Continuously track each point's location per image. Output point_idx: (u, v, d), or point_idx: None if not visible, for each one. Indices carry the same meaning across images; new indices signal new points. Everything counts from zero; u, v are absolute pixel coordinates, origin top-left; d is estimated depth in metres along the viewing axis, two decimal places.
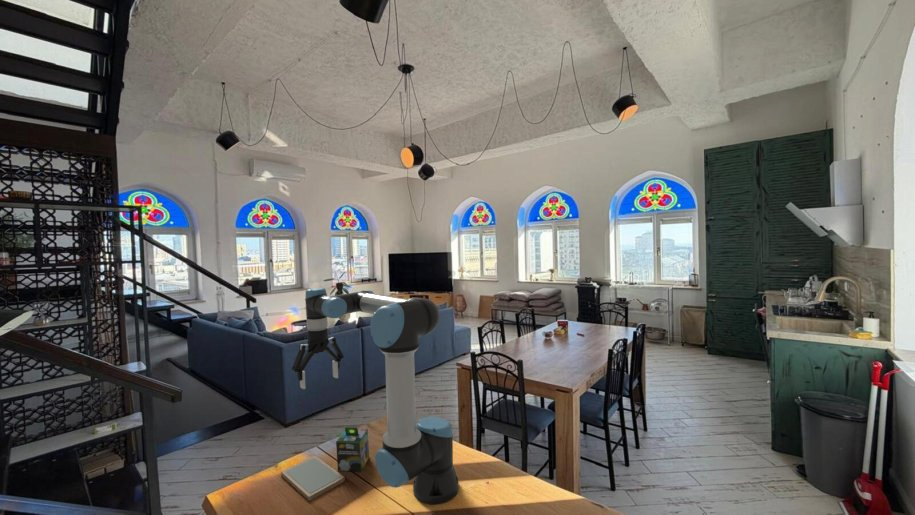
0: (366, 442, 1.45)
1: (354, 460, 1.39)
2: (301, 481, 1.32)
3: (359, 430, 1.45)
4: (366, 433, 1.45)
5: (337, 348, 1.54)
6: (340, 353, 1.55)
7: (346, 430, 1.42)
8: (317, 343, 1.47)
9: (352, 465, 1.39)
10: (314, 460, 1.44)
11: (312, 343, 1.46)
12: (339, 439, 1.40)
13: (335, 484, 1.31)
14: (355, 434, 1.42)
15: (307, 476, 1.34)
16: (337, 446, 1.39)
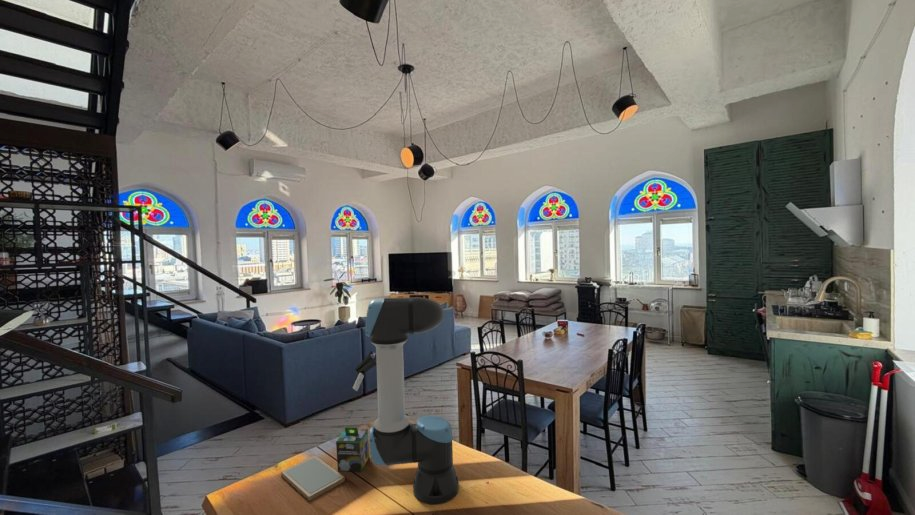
0: (366, 442, 1.45)
1: (354, 460, 1.39)
2: (301, 481, 1.32)
3: (359, 430, 1.45)
4: (366, 433, 1.45)
5: None
6: None
7: (346, 430, 1.42)
8: None
9: (352, 465, 1.39)
10: (314, 460, 1.44)
11: None
12: (339, 439, 1.40)
13: (335, 484, 1.31)
14: (355, 434, 1.42)
15: (307, 476, 1.34)
16: (337, 446, 1.39)
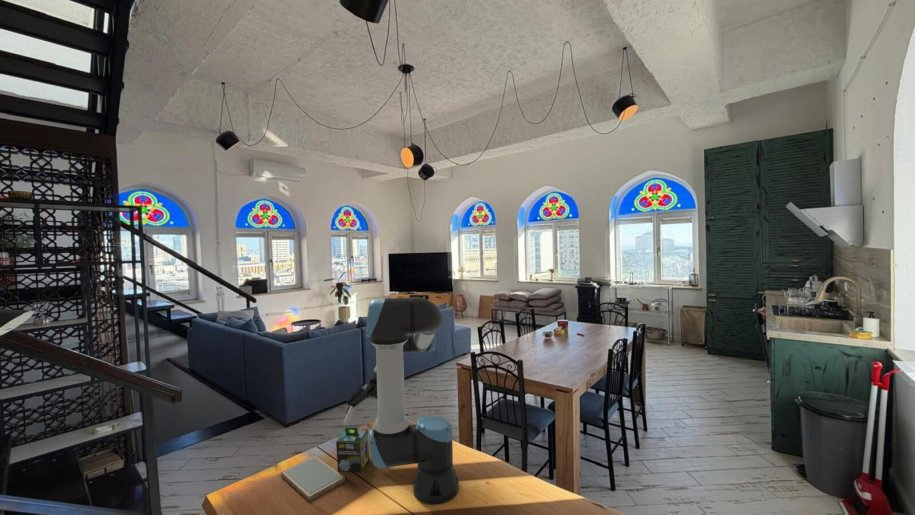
0: (366, 442, 1.45)
1: (354, 460, 1.39)
2: (301, 481, 1.32)
3: (359, 430, 1.45)
4: (366, 433, 1.45)
5: None
6: None
7: (346, 430, 1.42)
8: (373, 386, 1.56)
9: (352, 465, 1.39)
10: (314, 460, 1.44)
11: (369, 384, 1.57)
12: (339, 439, 1.40)
13: (335, 484, 1.31)
14: (355, 434, 1.42)
15: (307, 476, 1.34)
16: (337, 446, 1.39)
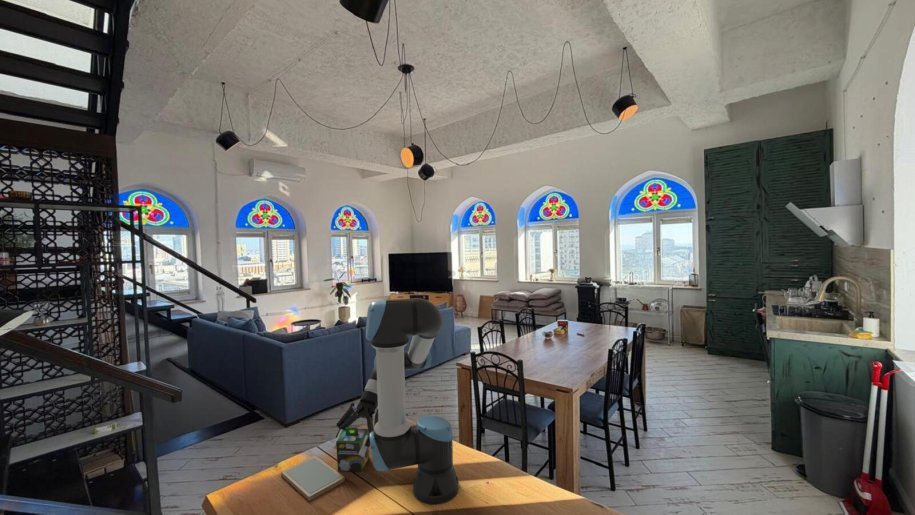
0: None
1: (354, 460, 1.38)
2: (301, 481, 1.32)
3: (359, 430, 1.45)
4: (366, 433, 1.45)
5: (375, 421, 1.44)
6: None
7: (346, 430, 1.42)
8: (364, 405, 1.50)
9: (352, 465, 1.39)
10: (314, 460, 1.44)
11: (360, 403, 1.51)
12: (339, 439, 1.40)
13: (335, 484, 1.31)
14: (355, 434, 1.42)
15: (307, 476, 1.34)
16: (337, 446, 1.39)
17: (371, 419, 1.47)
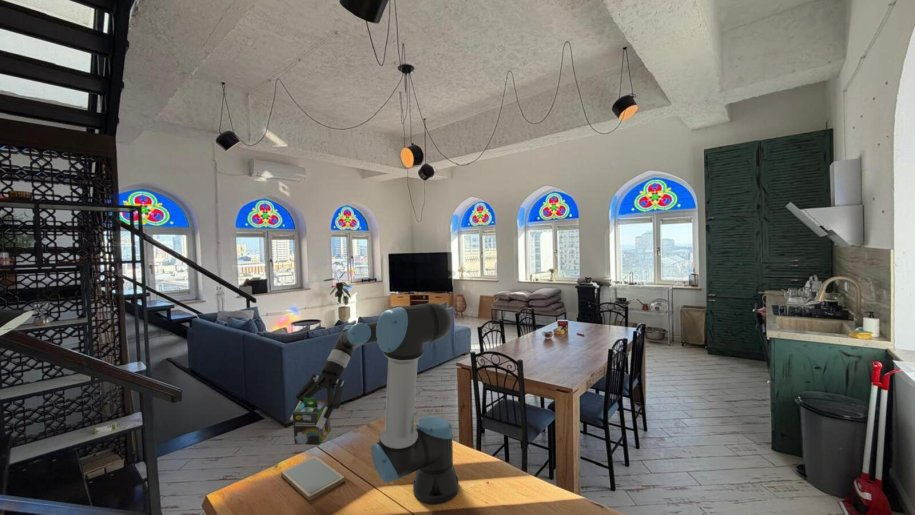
0: None
1: (311, 433, 1.29)
2: (301, 481, 1.32)
3: (319, 402, 1.36)
4: (326, 405, 1.36)
5: (336, 391, 1.35)
6: (335, 399, 1.33)
7: (304, 401, 1.33)
8: (325, 376, 1.41)
9: (310, 438, 1.29)
10: (314, 460, 1.44)
11: (321, 374, 1.42)
12: (296, 410, 1.30)
13: (335, 484, 1.31)
14: (314, 405, 1.33)
15: (307, 476, 1.34)
16: (293, 417, 1.30)
17: (332, 390, 1.37)
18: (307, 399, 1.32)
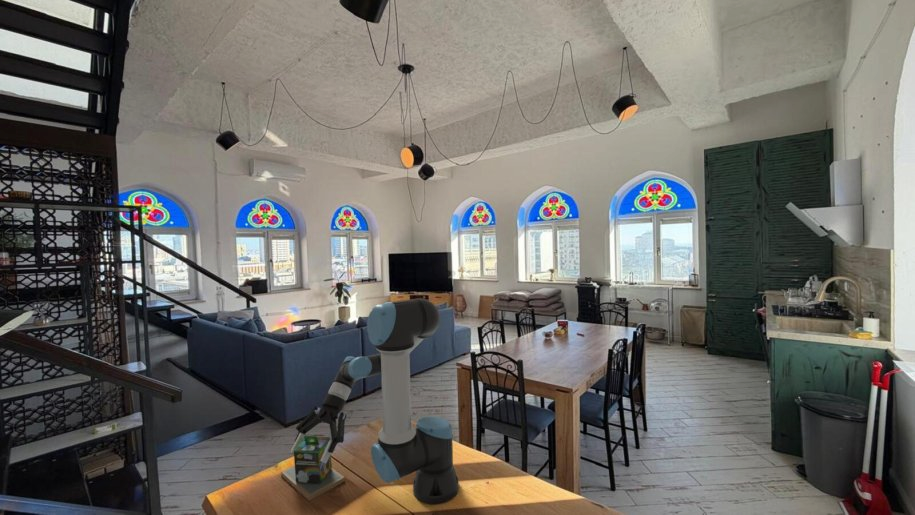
0: None
1: (312, 471, 1.30)
2: None
3: (320, 439, 1.37)
4: (327, 442, 1.36)
5: (339, 425, 1.35)
6: (338, 433, 1.33)
7: (305, 439, 1.33)
8: (326, 410, 1.41)
9: (311, 477, 1.30)
10: None
11: (323, 408, 1.42)
12: (297, 448, 1.31)
13: (335, 484, 1.31)
14: (315, 443, 1.34)
15: None
16: (295, 456, 1.30)
17: (334, 424, 1.38)
18: (308, 437, 1.33)
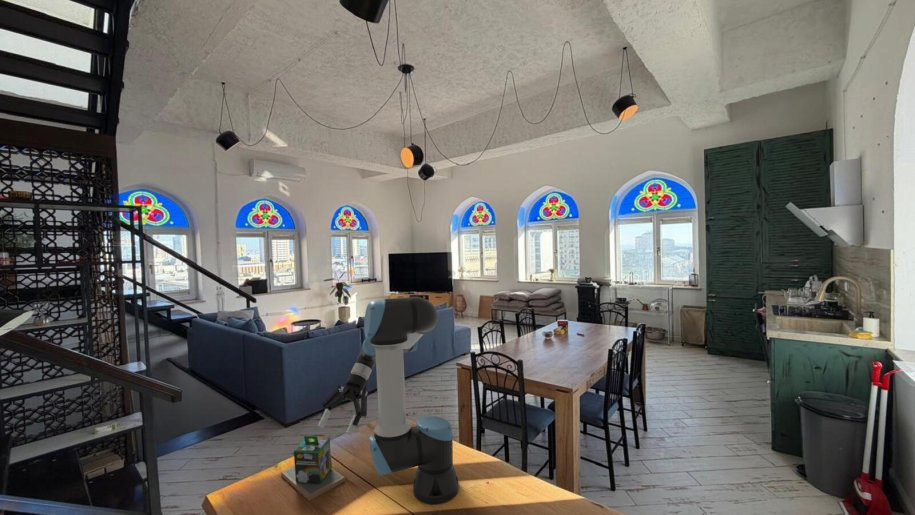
0: (327, 451, 1.36)
1: (312, 471, 1.30)
2: None
3: (320, 439, 1.37)
4: (327, 442, 1.36)
5: (362, 401, 1.47)
6: (362, 408, 1.45)
7: (305, 439, 1.33)
8: (349, 388, 1.53)
9: (311, 477, 1.30)
10: None
11: (346, 386, 1.54)
12: (297, 448, 1.31)
13: (335, 484, 1.31)
14: (315, 443, 1.34)
15: None
16: (295, 456, 1.30)
17: (357, 400, 1.50)
18: (308, 437, 1.33)
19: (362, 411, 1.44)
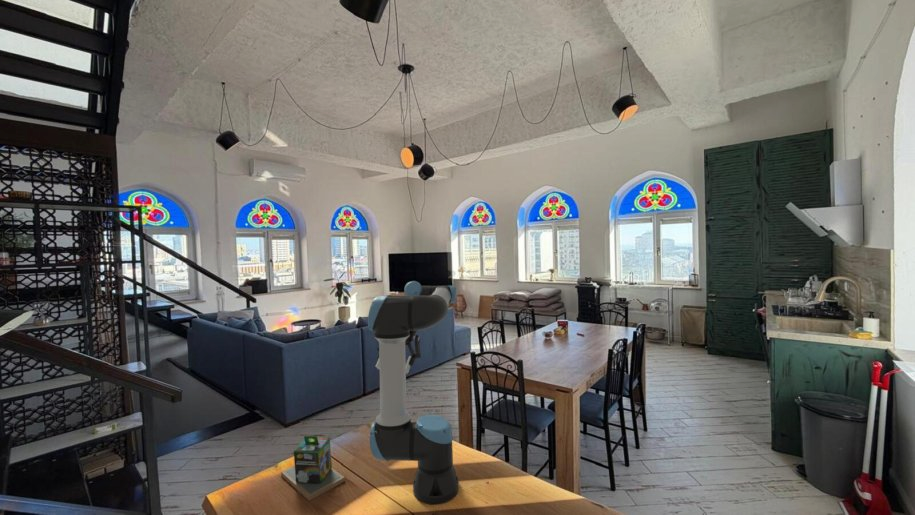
0: (327, 451, 1.36)
1: (312, 471, 1.30)
2: None
3: (320, 439, 1.37)
4: (327, 442, 1.36)
5: (416, 344, 1.60)
6: (416, 350, 1.58)
7: (305, 439, 1.33)
8: None
9: (311, 477, 1.30)
10: None
11: None
12: (297, 448, 1.31)
13: (335, 484, 1.31)
14: (315, 443, 1.34)
15: None
16: (295, 456, 1.30)
17: (411, 344, 1.63)
18: (308, 437, 1.33)
19: (417, 353, 1.57)
